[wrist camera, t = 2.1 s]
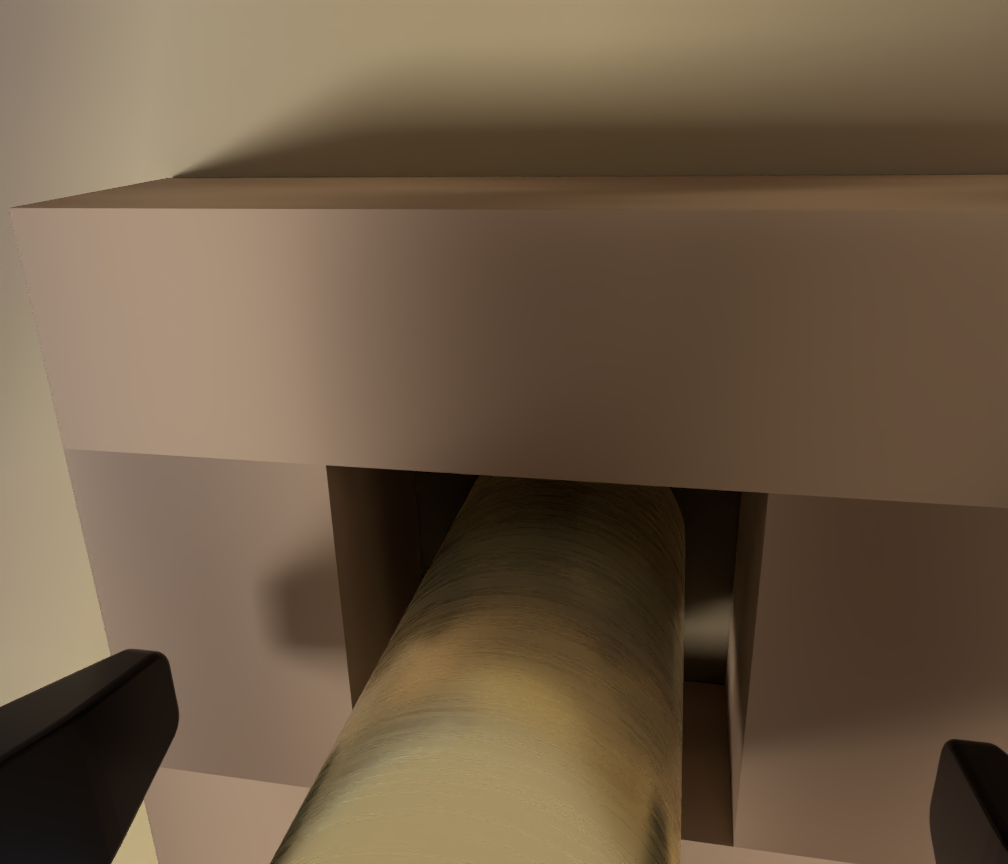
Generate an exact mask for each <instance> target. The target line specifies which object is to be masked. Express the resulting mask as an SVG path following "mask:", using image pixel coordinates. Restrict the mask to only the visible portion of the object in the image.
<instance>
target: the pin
mask: <svg viewBox="0 0 1008 864" xmlns="http://www.w3.org/2000/svg"><path fill="white" fill-rule="evenodd" d="M684 595H685V528H684V522H683V517H682V514H681V511H680V508H679V505H678V503H677V501H676V499H675V496H674V494H673V492H672V491H671V489H670V488H669V487H664V486H648V485H632V484H616V483H600V482H584V481H569V480H553V479H537V478H521V477H505V476H489V475H479V477H478V478H477V480H476V481H475V483H474V485H473V487H472V489H471V491H470V493H469V494H468V496H467V498H466V500H465V502H464V504H463V506H462V507H461V509H460V511H459V513H458V515H457V517H456V519H455V520H454V522H453V524H452V526H451V528H450V530H449V532H448V533H447V535H446V537H445V539H444V541H443V543H442V545H441V546H440V548H439V550H438V552H437V554H436V556H435V558H434V560H433V561H432V563H431V565H430V567H429V569H428V571H427V573H426V574H425V576H424V578H423V580H422V582H421V584H420V586H419V587H418V589H417V591H416V593H415V595H414V597H413V599H412V600H411V602H410V604H409V606H408V608H407V610H406V612H405V613H404V615H403V617H402V619H401V621H400V623H399V625H398V626H397V628H396V630H395V632H394V634H393V636H392V638H391V639H390V641H389V643H388V645H387V647H386V649H385V651H384V652H383V654H382V656H381V658H380V660H379V662H378V664H377V665H376V667H375V669H374V671H373V673H372V675H371V677H370V678H369V680H368V682H367V684H366V686H365V688H364V690H363V691H362V693H361V695H360V697H359V699H358V701H357V703H356V704H355V706H354V708H353V710H352V712H351V714H350V716H349V717H348V719H347V721H346V723H345V725H344V727H343V729H342V730H341V732H340V734H339V736H338V738H337V740H336V742H335V743H334V745H333V747H332V749H331V751H330V753H329V755H328V757H327V758H326V760H325V762H324V764H323V766H322V768H321V770H320V771H319V773H318V775H317V777H316V779H315V781H314V783H313V784H312V786H311V788H310V790H309V792H308V794H307V796H306V797H305V799H304V801H303V803H302V805H301V807H300V809H299V810H298V812H297V814H296V816H295V818H294V820H293V822H292V823H291V825H290V827H289V829H288V831H287V833H286V835H285V836H284V838H283V840H282V842H281V844H280V846H279V848H278V849H277V851H276V853H275V855H274V857H273V859H272V861H271V862H270V864H681V798H682V730H683V663H684Z"/></svg>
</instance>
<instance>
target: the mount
mask: <svg viewBox="0 0 1008 864" xmlns="http://www.w3.org/2000/svg"><path fill="white" fill-rule="evenodd" d="M9 212H10V216H11V221H12V225H13V230H14V234H15V238H16V243H17V247H18V251H19V256H20V260H21V264H22V269H23V273H24V278H25V282H26V286H27V291H28V295H29V299H30V304H31V308H32V313H33V317H34V321H35V326H36V330H37V334H38V339H39V343H40V348H41V352H42V356H43V361H44V365H45V369H46V374H47V378H48V383H49V387H50V391H51V396H52V400H53V404H54V409H55V413H56V417H57V422H58V426H59V431H60V435H61V439H62V444H63V448H64V452H65V457H66V461H67V466H68V470H69V474H70V479H71V483H72V487H73V492H74V496H75V501H76V505H77V509H78V514H79V518H80V522H81V527H82V531H83V536H84V540H85V544H86V549H87V553H88V557H89V562H90V566H91V570H92V575H93V579H94V584H95V588H96V592H97V597H98V601H99V605H100V610H101V614H102V619H103V623H104V627H105V632H106V636H107V640H108V645H109V649H110V654H111V656H112V655H114V654H116V653H119V652H121V651H123V650H126V649H142V650H152V651H159V652H161V653H163V654H164V655H165V656H166V657H167V659H168V660H169V663H170V668H171V673H172V678H173V683H174V688H175V693H176V698H177V703H178V708H179V723H178V728H177V731H176V734H175V737H174V739H173V741H172V743H171V745H170V747H169V749H168V751H167V753H166V755H165V757H164V759H163V761H162V763H161V765H160V767H159V769H158V771H157V773H156V775H155V777H154V779H153V781H152V783H151V785H150V787H149V789H148V792H147V794H146V796H145V798H144V802H145V807H146V811H147V815H148V820H149V824H150V828H151V833H152V837H153V842H154V846H155V850H156V855H157V859H158V863H159V864H270V862H271V861H272V859H273V857H274V855H275V853H276V851H277V849H278V848H279V846H280V844H281V842H282V840H283V838H284V836H285V835H286V833H287V831H288V829H289V827H290V825H291V823H292V822H293V820H294V818H295V816H296V814H297V812H298V810H299V809H300V807H301V805H302V803H303V801H304V799H305V797H306V796H307V794H308V792H309V790H310V788H311V786H312V784H313V783H314V781H315V779H316V777H317V775H318V773H319V771H320V770H321V768H322V766H323V764H324V762H325V760H326V758H327V757H328V755H329V753H330V751H331V749H332V747H333V745H334V743H335V742H336V740H337V738H338V736H339V734H340V732H341V730H342V729H343V727H344V725H345V723H346V721H347V719H348V717H349V716H350V714H351V712H352V710H353V708H354V706H355V704H356V703H357V701H358V699H359V697H360V695H361V693H362V691H363V690H364V688H365V686H366V684H367V682H368V680H369V678H370V677H371V675H372V673H373V671H374V669H375V667H376V665H377V664H378V662H379V660H380V658H381V656H382V654H383V652H384V651H385V649H386V647H387V645H388V643H389V641H390V639H391V638H392V636H393V634H394V632H395V630H396V628H397V626H398V625H399V623H400V621H401V619H402V617H403V615H404V613H405V612H406V610H407V608H408V606H409V604H410V602H411V600H412V599H413V597H414V595H415V593H416V591H417V589H418V587H419V586H420V584H421V582H422V575H421V560H420V545H419V530H418V515H417V500H416V485H415V471H426V472H442V473H457V474H473V475H489V476H505V477H521V478H537V479H553V480H569V481H584V482H600V483H616V484H632V485H648V486H664V487H680V488H696V489H711V490H727V491H742V493H741V505H740V516H739V528H738V540H737V551H736V563H735V574H734V586H733V597H732V609H731V620H730V632H729V644H728V655H727V667H726V678H725V685H719V684H709V683H699V682H690V681H683V730H682V798H681V864H936V861H935V856H934V850H933V845H932V839H931V833H930V823H929V812H930V803H931V798H932V793H933V788H934V784H935V779H936V774H937V769H938V764H939V759H940V754H941V750H942V748H943V746H944V744H945V742H947V741H949V740H951V739H961V740H970V741H979V742H988V743H992V744H994V745H996V746H998V747H999V748H1001V749H1002V750H1003V751H1004V752H1006V753H1007V754H1008V175H803V176H561V177H319V178H166V179H160V180H155V181H150V182H144V183H139V184H134V185H128V186H123V187H118V188H112V189H107V190H102V191H97V192H91V193H86V194H81V195H75V196H70V197H65V198H59V199H54V200H49V201H43V202H38V203H33V204H28V205H22V206H17V207H12V208H9Z"/></svg>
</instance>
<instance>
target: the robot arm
mask: <svg viewBox="0 0 1008 864" xmlns="http://www.w3.org/2000/svg"><path fill="white" fill-rule="evenodd" d="M178 723H179V708H178V703H177V698H176V693H175V688H174V683H173V678H172V673H171V668H170V663H169V660H168V659H167V657H166V656H165V655H164V654H163V653H161V652H159V651H152V650H142V649H126V650H123V651H121V652H119V653H116V654H114V655H112V656H110V657H108V658H106V659H103V660H101V661H99V662H97V663H95V664H93V665H90V666H88V667H86V668H84V669H82V670H80V671H77V672H75V673H73V674H71V675H69V676H67V677H64V678H62V679H60V680H58V681H56V682H53V683H51V684H49V685H47V686H45V687H43V688H40V689H38V690H36V691H34V692H32V693H30V694H27V695H25V696H23V697H21V698H19V699H17V700H14V701H12V702H10V703H8V704H6V705H3V706H1V707H0V864H111V863H112V861H113V859H114V857H115V855H116V853H117V851H118V850H119V848H120V846H121V844H122V842H123V840H124V838H125V836H126V834H127V832H128V830H129V828H130V826H131V824H132V822H133V820H134V818H135V816H136V814H137V812H138V810H139V808H140V806H141V804H142V802H143V800H144V798H145V796H146V794H147V792H148V789H149V787H150V785H151V783H152V781H153V779H154V777H155V775H156V773H157V771H158V769H159V767H160V765H161V763H162V761H163V759H164V757H165V755H166V753H167V751H168V749H169V747H170V745H171V743H172V741H173V739H174V737H175V734H176V731H177V728H178ZM929 823H930V833H931V839H932V845H933V850H934V856H935V861H936V864H1008V754H1007V753H1006V752H1004V751H1003V750H1002V749H1001V748H999V747H998V746H996V745H994V744H992V743H988V742H979V741H970V740H961V739H951V740H949V741H947V742H945V744H944V746H943V748H942V750H941V754H940V759H939V764H938V769H937V774H936V779H935V784H934V788H933V793H932V798H931V803H930V812H929Z"/></svg>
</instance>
